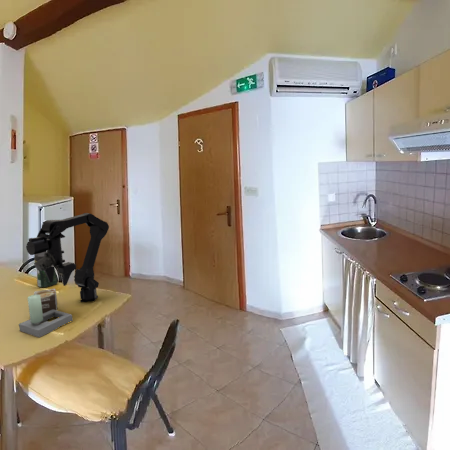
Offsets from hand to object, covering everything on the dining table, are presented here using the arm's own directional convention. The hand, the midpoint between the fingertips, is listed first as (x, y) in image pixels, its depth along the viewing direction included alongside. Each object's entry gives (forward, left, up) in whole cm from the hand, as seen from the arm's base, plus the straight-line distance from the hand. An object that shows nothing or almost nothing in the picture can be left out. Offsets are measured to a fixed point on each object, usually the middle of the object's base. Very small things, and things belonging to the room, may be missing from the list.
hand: (58, 283), depth 149 cm
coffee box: (+12, -11, -10) cm, 19 cm away
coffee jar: (+22, -35, -13) cm, 43 cm away
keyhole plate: (0, +13, -13) cm, 19 cm away
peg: (+2, +17, -13) cm, 21 cm away
